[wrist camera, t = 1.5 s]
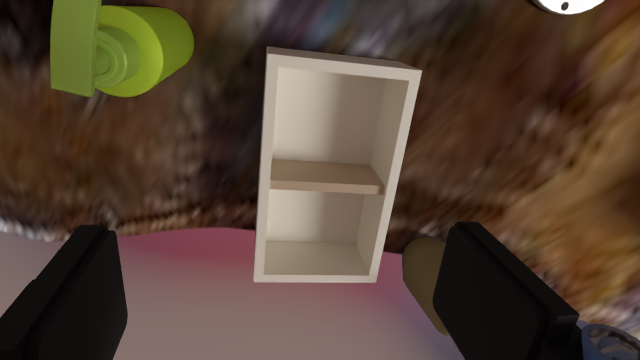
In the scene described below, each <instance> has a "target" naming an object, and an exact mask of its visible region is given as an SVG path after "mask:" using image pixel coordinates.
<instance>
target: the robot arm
mask: <svg viewBox="0 0 640 360" xmlns="http://www.w3.org/2000/svg"><path fill="white" fill-rule="evenodd" d="M532 1H533V2H534V3H535V4H536V5H537V6H538V7H540V8H541V9H543V10H545V11H547V12H549V13H553V14H558V15H572V14H579V13H582V12H585V11H588V10H590V9H592V8H594V7H596V6H597V5H599V4H601V3H602V2H603V1H604V0H532ZM432 303H433V307H434V310H435V312H436V313H437V315H438V317H439V318H440V320H441V321H442V323H443V325H444V326H445V328H446V329H447V331H448V333H449V334H450V336H451V337H452V339H453V341H454V342H455V344H456V345H457V347H458V349H459V350H460V352H461V353H462V355H463V357H464V358H465V360H640V341H639V340H638V339H637V338H635V337H633V336H631V335H630V334H628V333H626V332H624V331H622V330H619V329H617V328H615V327H611V326H608V325H604V324H595V323H594V324H587V325H586V326H584V327H583V328H582V330H581V329H580V328H579V327H578V326H577V325H576V322H577V320H578V318H579V316H580V314H578V313H577V312H576V311H575V310H574V309H573V308H572V307H571V306H570V305H569V304H567V303H566V302H565V301H564V300H563V299H562V298H561V297H560V296H559V295H558V294H556V293H555V292H554V291H553V290H552V289H551V288H550V287H549V286H548V285H547V284H546V283H544V282H543V281H542V280H541V279H540V278H539V277H538V276H537V275H536V274H535V273H533V272H532V271H531V270H530V269H529V268H528V267H527V266H526V265H525V264H524V263H522V262H521V261H520V260H519V259H518V258H517V257H516V256H515V255H514V254H513V253H512V252H510V251H509V250H508V249H507V248H506V247H505V246H504V245H503V244H502V243H501V242H499V241H498V240H497V239H496V238H495V237H494V236H493V235H492V234H491V233H490V232H488V231H487V230H486V229H485V228H484V227H483V226H482V225H481V224H480V223H478V222H457V223H456V224H455V225H454V227H451V228H450V230H449V233H448V237H447V241H446V245H445V249H444V253H443V257H442V261H441V265H440V269H439V274H438V278H437V282H436V286H435V290H434V294H433V299H432ZM127 315H128V314H127V306H126V299H125V292H124V285H123V278H122V271H121V264H120V257H119V250H118V244H117V236H116V233H115V231H114V230H108V227H107V226H106V225H80V226H79V227H78V228H77V229H76V230H75V231H74V233H73V234H72V235H71V236H70V237H69V239H68V240H67V241H66V242H65V244H64V245H63V246H62V247H61V248H60V250H59V251H58V252H57V253H56V255H55V256H54V257H53V258H52V259H51V261H50V262H49V263H48V264H47V265H46V267H45V268H44V269H43V270H42V272H41V273H40V274H39V275H38V276H37V278H36V279H34V280H32V281H31V282H30V283H29V284H28V285H27V286H26V287H25V289H24V290H23V291H22V292H21V294H20V295H19V296H18V297H17V298H16V300H15V301H14V302H13V303H12V305H11V306H10V307H9V308H8V309H7V310H6V312H5V313H4V314H3V315H2V316H1V318H0V360H113V357H114V355H115V352H116V350H117V347H118V345H119V342H120V340H121V337H122V335H123V332H124V330H125V327H126V324H127Z"/></svg>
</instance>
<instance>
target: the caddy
mask: <svg viewBox="0 0 640 360" xmlns="http://www.w3.org/2000/svg"><path fill="white" fill-rule="evenodd" d="M421 73H422V70H419V69H416V68H414V67H411V66H408V65H406V64H403V63H400V62H398V61H393V60H384V59H375V58H366V57H358V56H349V55H340V54H331V53H322V52H313V51H305V50H296V49H287V48H278V47H269V46H267V48H266V65H265V82H264V98H263V115H262V132H261V148H260V165H259V182H258V199H257V215H256V232H255V233H256V234H255V255H254V282H328V283H332V282H333V283H334V282H337V283H339V282H340V283H341V282H343V283H345V282H346V283H376V280H377V275H378V270H379V266H380V261H381V257H382V252H383V248H384V243H385V238H386V234H387V229H388V225H389V220H390V215H391V211H392V206H393V202H394V197H395V192H396V188H397V183H398V179H399V174H400V169H401V165H402V160H403V156H404V151H405V146H406V142H407V137H408V133H409V128H410V124H411V119H412V114H413V110H414V105H415V101H416V96H417V91H418V87H419V82H420V78H421Z"/></svg>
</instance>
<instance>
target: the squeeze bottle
mask: <svg viewBox="0 0 640 360" xmlns="http://www.w3.org/2000/svg"><path fill="white" fill-rule="evenodd" d="M445 245H446V244H445V243H443V242H441V241H439V240H437V239H435V238H431V237H422V238H418V239H416V240H414V241H412V242H411V243H410V244H409V245H408V246H407V247H406V248H405V250H404V252H403V254H402V266H403V280H404V282H405V284H406V286H407V288H408V289H409V291H410V292H411V293H412V295H413V296H414V298H415V299H416V300H417V302H418V303H419V305H420V306H421V308H422V309H423V311H424V312H425V313H426V315H427V316H428V318H429V319H430V321H431V322H432V323H433V325H434V326H435V327H436V329H437V330H438V331H439V332H440V333H442V334H443V335H445V336H450V334H449V333H448V331H447V329H446V328H445V326H444V325H443V323H442V321H441V320H440V318H439V317H438V315H437V313H436V312H435V310H434V307H433V303H432V299H433V294H434V290H435V286H436V282H437V278H438V274H439V269H440V265H441V261H442V257H443V253H444V249H445ZM450 337H451V336H450ZM451 338H452V337H451ZM452 340H453V339H452ZM453 342H454V341H453ZM454 344H455V342H454ZM455 345H456V344H455ZM456 346H457V345H456Z"/></svg>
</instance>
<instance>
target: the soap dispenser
mask: <svg viewBox="0 0 640 360" xmlns="http://www.w3.org/2000/svg"><path fill="white" fill-rule="evenodd" d="M101 1H102V0H54V2H53V9H52V19H51V38H50V68H51V88H53V89H58V90H62V91H66V92H70V93H75V94H79V95H83V96H87V97H91V96H93V95H94V90H95V87H96V88H97V89H99V90H101V91H103V92H105V93H107V94H110V95H114V96H120V97H131V96H136V95H140V94H142V93H144V92H146V91H148V90H149V89H151V88H152V87H154V86H155V85H156V84H158V83H159V82H161V81H162V80H164V79H165V78H167V77H168V76H169V75H171V74H172V73H174V72H175V71H177V70H178V69H179V68H181V67H182V66H184V65H185V64H186V63H187V62H188V61H189V59H190V58H191V56H192V54H193V50H194V37H193V34H192V31H191V29H190V27H189V25H188V24H187V22H186V21H185V20H184V19H183V18H182V17H181V16H180V15H179V14H177V13H176V12H174V11H172V10H170V9H167V8H162V7H137V6H101Z"/></svg>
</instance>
